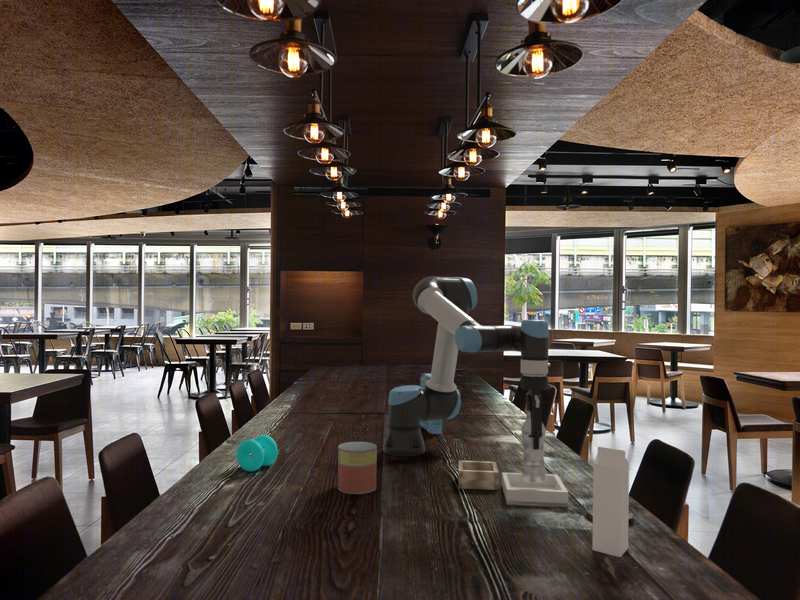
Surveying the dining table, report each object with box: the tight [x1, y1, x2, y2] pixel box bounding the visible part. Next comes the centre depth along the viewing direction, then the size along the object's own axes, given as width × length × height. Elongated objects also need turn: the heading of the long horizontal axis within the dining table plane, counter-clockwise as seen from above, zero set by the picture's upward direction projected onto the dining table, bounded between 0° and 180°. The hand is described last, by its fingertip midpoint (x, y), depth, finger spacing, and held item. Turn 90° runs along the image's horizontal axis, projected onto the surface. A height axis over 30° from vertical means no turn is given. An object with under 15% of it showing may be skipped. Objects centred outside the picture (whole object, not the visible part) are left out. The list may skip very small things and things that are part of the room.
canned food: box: [337, 441, 378, 495], centre depth 166 cm, size 11×11×12 cm
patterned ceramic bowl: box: [584, 504, 635, 522], centre depth 145 cm, size 12×12×8 cm
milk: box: [592, 446, 630, 558], centre depth 126 cm, size 6×6×22 cm
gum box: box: [419, 373, 443, 435], centre depth 246 cm, size 20×5×23 cm, turn 13°
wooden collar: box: [457, 460, 499, 491], centre depth 172 cm, size 11×11×5 cm
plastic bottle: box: [520, 409, 547, 483], centre depth 161 cm, size 6×7×20 cm
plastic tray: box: [501, 472, 569, 508], centre depth 161 cm, size 16×16×4 cm
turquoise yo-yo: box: [236, 434, 279, 473], centre depth 185 cm, size 10×10×10 cm
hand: (533, 457), depth 161 cm, fingers closed on plastic bottle, 6 cm apart
